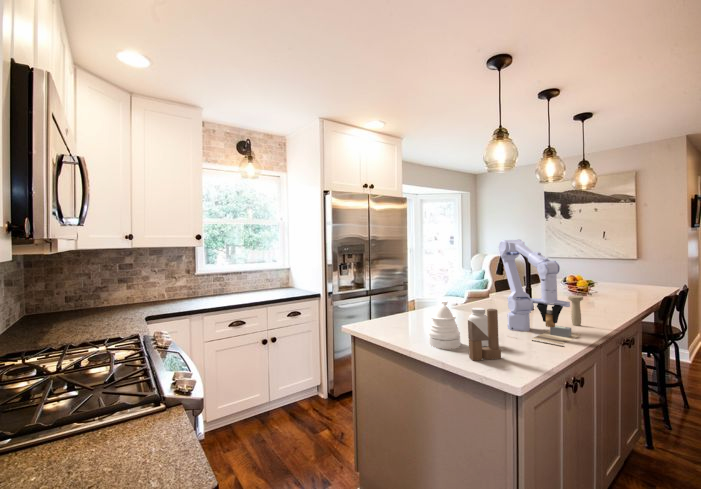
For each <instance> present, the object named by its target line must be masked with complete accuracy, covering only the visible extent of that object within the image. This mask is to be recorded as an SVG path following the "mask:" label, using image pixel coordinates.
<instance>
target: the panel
mask: <svg viewBox="0 0 701 489" xmlns="http://www.w3.org/2000/svg"><path fill="white" fill-rule="evenodd" d="M571 333H572V336H571V337H569V338H567V337H561V336H554V335H550V330H548V331H546V332H543V333H541V334H539V335H536V336H533V337H532V339H531V342H535V343H540V344H545V345H549V346H550V345H551V346H554V347H555V346H556V347H561V348H565V347H566V346H565V344H566V343H569V342H571V341H573V340H574V339H576V338H578V337H580V336H581V334H580V333H579V334H578V333H573V332H571Z"/></svg>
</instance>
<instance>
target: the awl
mask: <svg viewBox="0 0 701 489" xmlns="http://www.w3.org/2000/svg"><path fill="white" fill-rule="evenodd" d="M546 312H547V314H545V321H546V322H545V327H547V328H550V327H555V326H556V323H554V322H553V311H552V309H551V310H550V309H547V310H546Z"/></svg>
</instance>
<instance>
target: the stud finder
mask: <svg viewBox="0 0 701 489" xmlns="http://www.w3.org/2000/svg"><path fill="white" fill-rule="evenodd" d="M549 331H550V335H554V336H561V337H567V338H569V337H571V336H572V333H573V332H572V327H568V326H563V325H555V327H549Z"/></svg>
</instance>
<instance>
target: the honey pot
mask: <svg viewBox="0 0 701 489" xmlns="http://www.w3.org/2000/svg"><path fill="white" fill-rule="evenodd" d="M440 303H441V305H440V306H439V307H438V308H437V309H436V311H435V313H434V314H433V315H431V316H430V318H431V319H432V322H431V323H430V327H429V328H430V329H429V330H428V343H429V344H430V345H431V346H430V345H429V344H428V345H429V346H430V347H432V346H433V347H432V348H435V347H436V348H435V349H440V348H442V349H441V350H454V349H457V347H458V348H460V347H461V332H460V331H459V327H458V324H457V322H456V316H455V315H453V313H452V311H451V309H449V308H448V307H449V306H447V305H448V301H447V300H441V302H440ZM459 346H460V347H459ZM451 348H452V349H451ZM453 348H454V349H453Z"/></svg>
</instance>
